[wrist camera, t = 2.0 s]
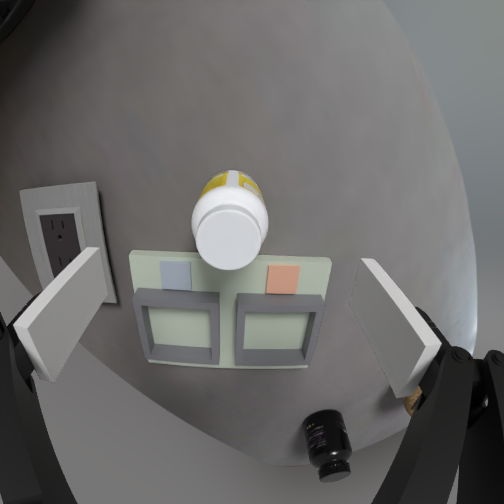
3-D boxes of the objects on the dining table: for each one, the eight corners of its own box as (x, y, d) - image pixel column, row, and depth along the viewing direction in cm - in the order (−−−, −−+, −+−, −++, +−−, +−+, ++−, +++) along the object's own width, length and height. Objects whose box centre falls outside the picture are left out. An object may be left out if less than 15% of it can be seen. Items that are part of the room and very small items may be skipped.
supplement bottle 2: (349, 411, 42) (366, 469, 31) (323, 430, 44) (335, 485, 33) (321, 404, 40) (336, 468, 29) (294, 424, 43) (303, 484, 32)
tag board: (132, 249, 28) (121, 264, 25) (328, 257, 29) (337, 272, 26) (150, 355, 34) (145, 373, 31) (305, 361, 35) (309, 379, 32)
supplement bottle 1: (200, 223, 27) (181, 275, 18) (205, 166, 25) (185, 192, 16) (257, 229, 28) (265, 284, 19) (265, 173, 25) (280, 202, 16)
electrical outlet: (122, 293, 30) (115, 304, 28) (52, 287, 30) (43, 297, 28) (104, 177, 25) (94, 182, 23) (30, 186, 24) (17, 191, 22)
